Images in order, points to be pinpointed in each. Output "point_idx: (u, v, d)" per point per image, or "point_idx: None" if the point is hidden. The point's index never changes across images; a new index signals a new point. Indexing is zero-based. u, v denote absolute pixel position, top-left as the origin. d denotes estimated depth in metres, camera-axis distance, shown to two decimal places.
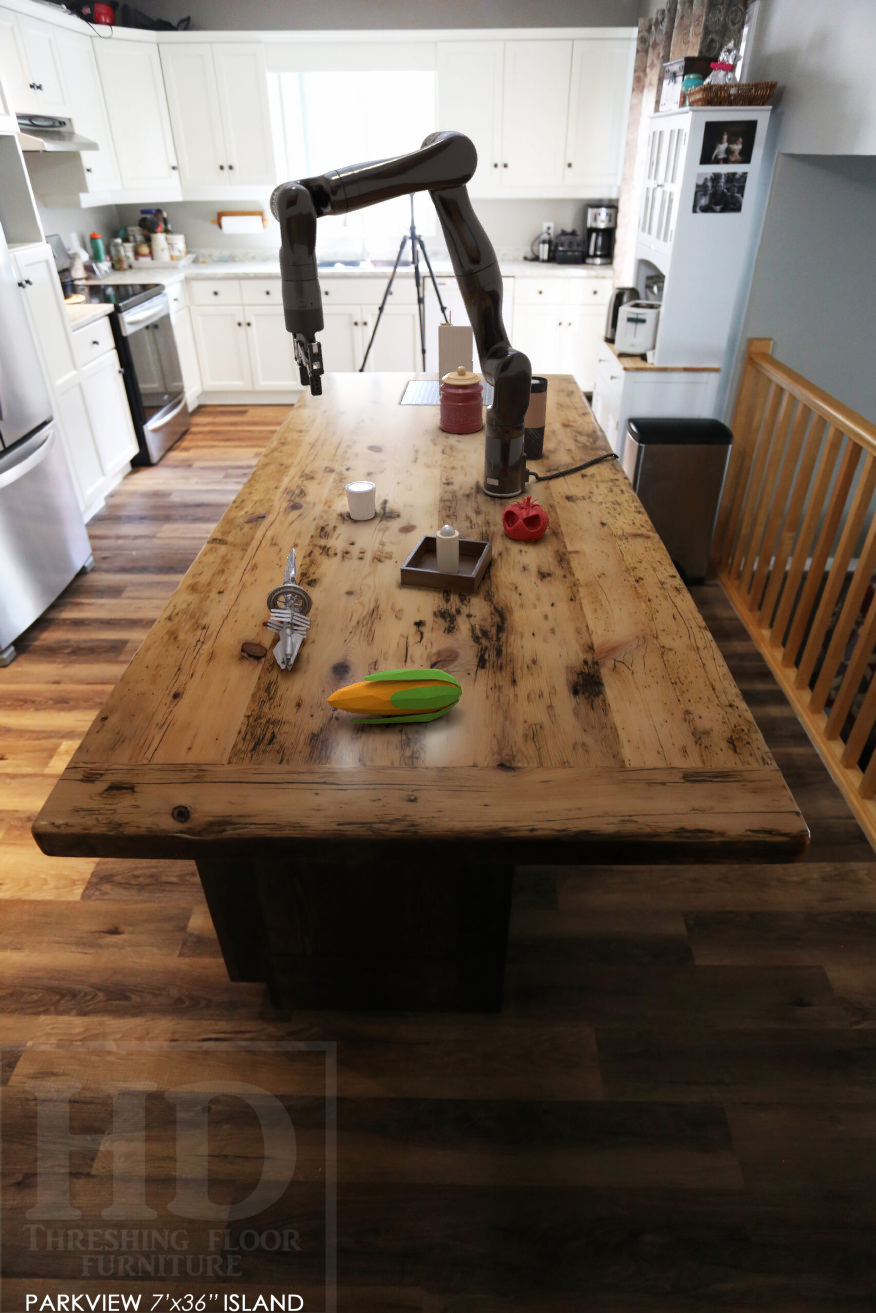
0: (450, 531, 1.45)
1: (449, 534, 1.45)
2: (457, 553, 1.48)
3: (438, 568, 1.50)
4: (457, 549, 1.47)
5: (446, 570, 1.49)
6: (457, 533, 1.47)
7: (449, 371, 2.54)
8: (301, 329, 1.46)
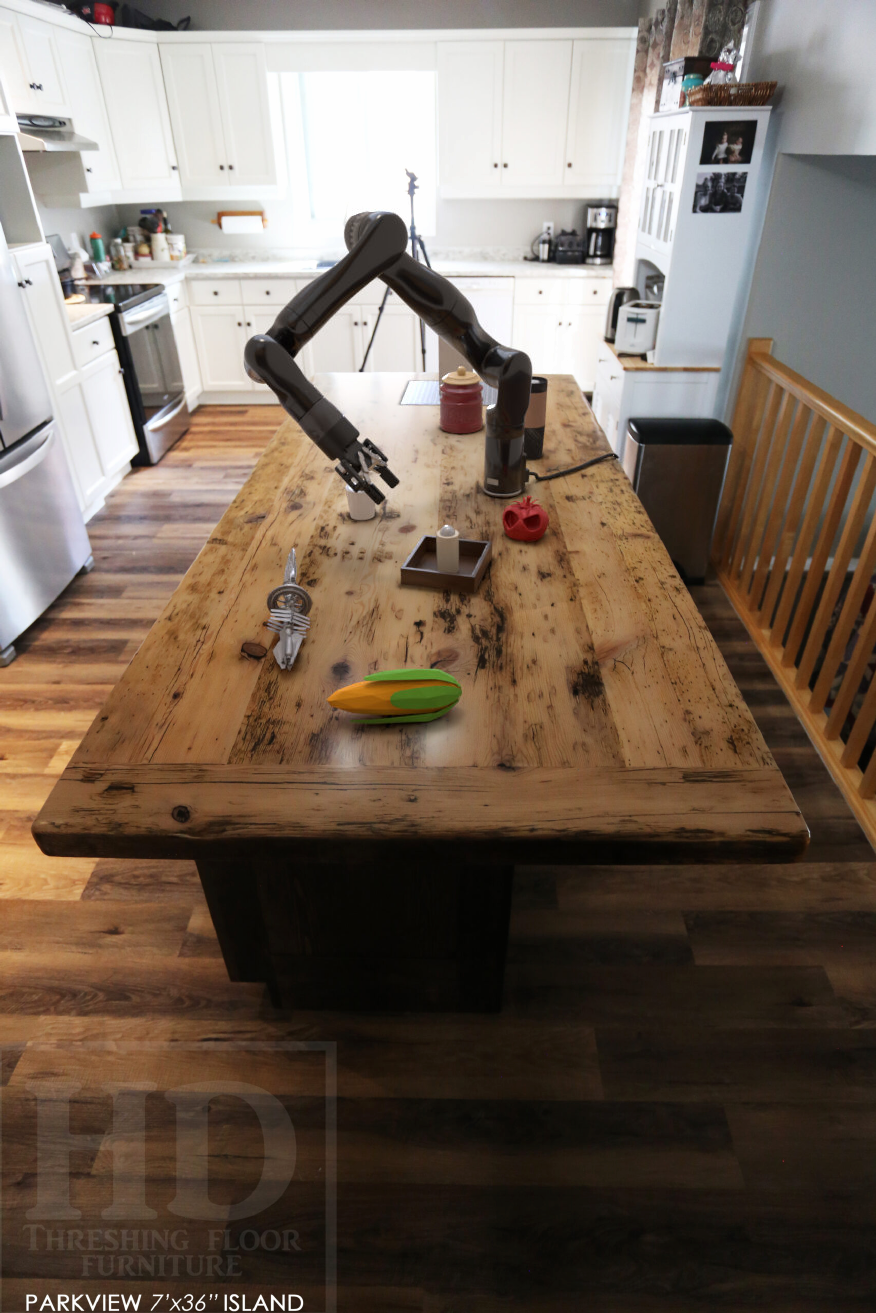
0: (450, 531, 1.45)
1: (449, 534, 1.45)
2: (457, 553, 1.48)
3: (438, 568, 1.50)
4: (457, 549, 1.47)
5: (446, 570, 1.49)
6: (457, 533, 1.47)
7: (449, 371, 2.54)
8: (331, 455, 1.40)
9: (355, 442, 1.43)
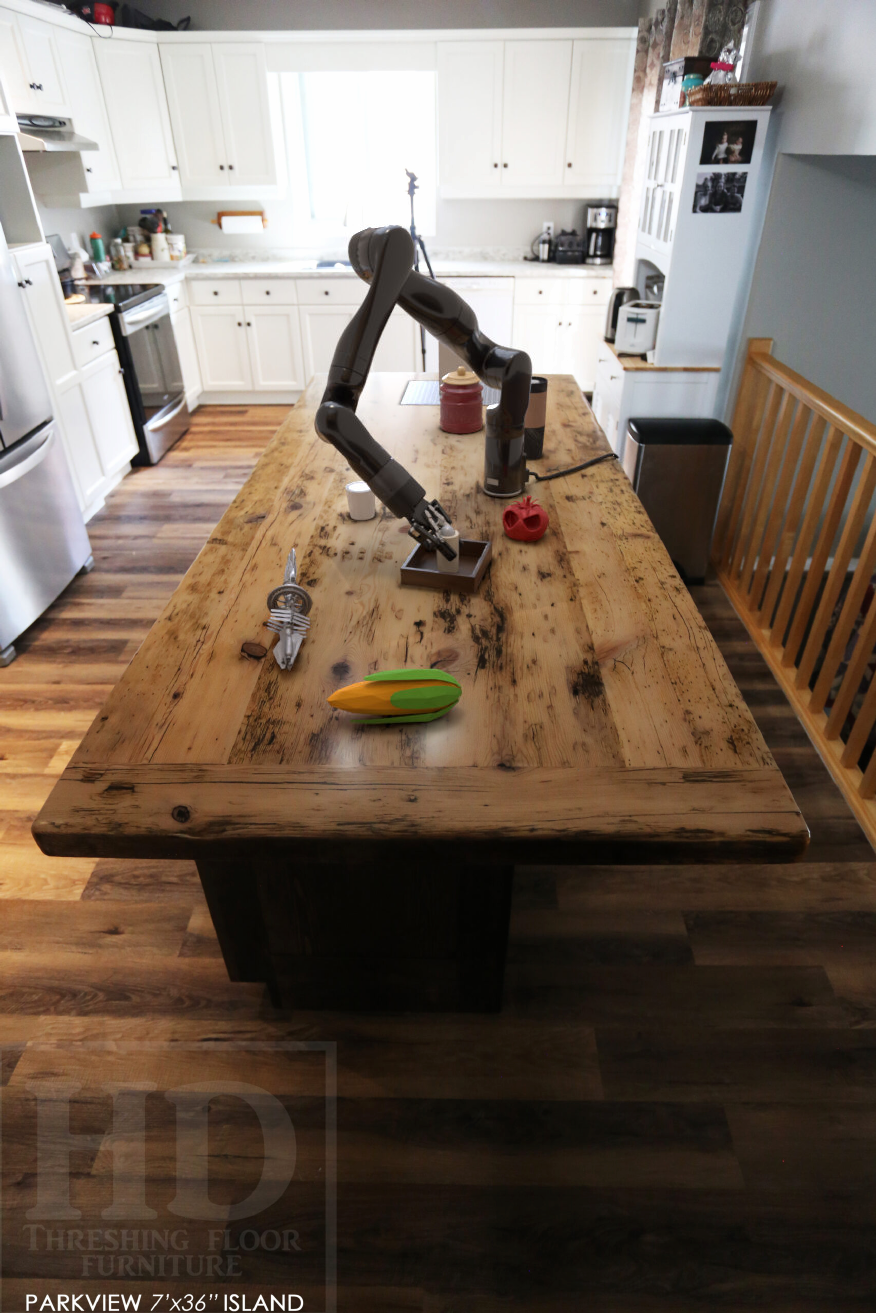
0: (450, 531, 1.45)
1: (449, 534, 1.45)
2: (457, 553, 1.48)
3: (438, 568, 1.50)
4: (457, 549, 1.47)
5: (446, 570, 1.49)
6: (457, 533, 1.47)
7: (449, 371, 2.54)
8: (399, 514, 1.44)
9: (421, 500, 1.46)
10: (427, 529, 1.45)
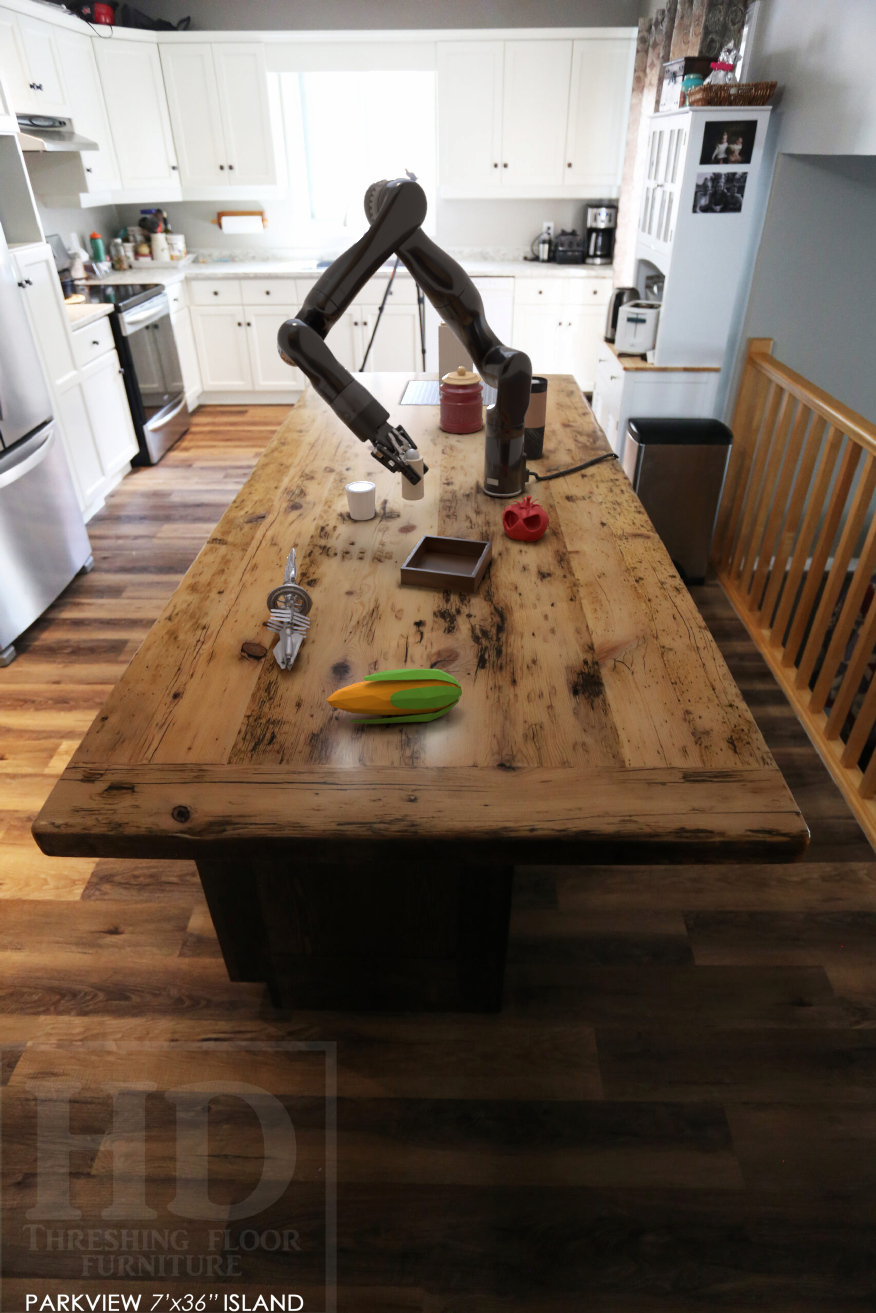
0: (414, 454, 1.45)
1: (413, 457, 1.45)
2: None
3: (403, 493, 1.50)
4: (421, 473, 1.47)
5: (411, 495, 1.49)
6: (421, 457, 1.46)
7: (449, 371, 2.54)
8: (362, 436, 1.43)
9: (385, 424, 1.46)
10: (391, 452, 1.45)
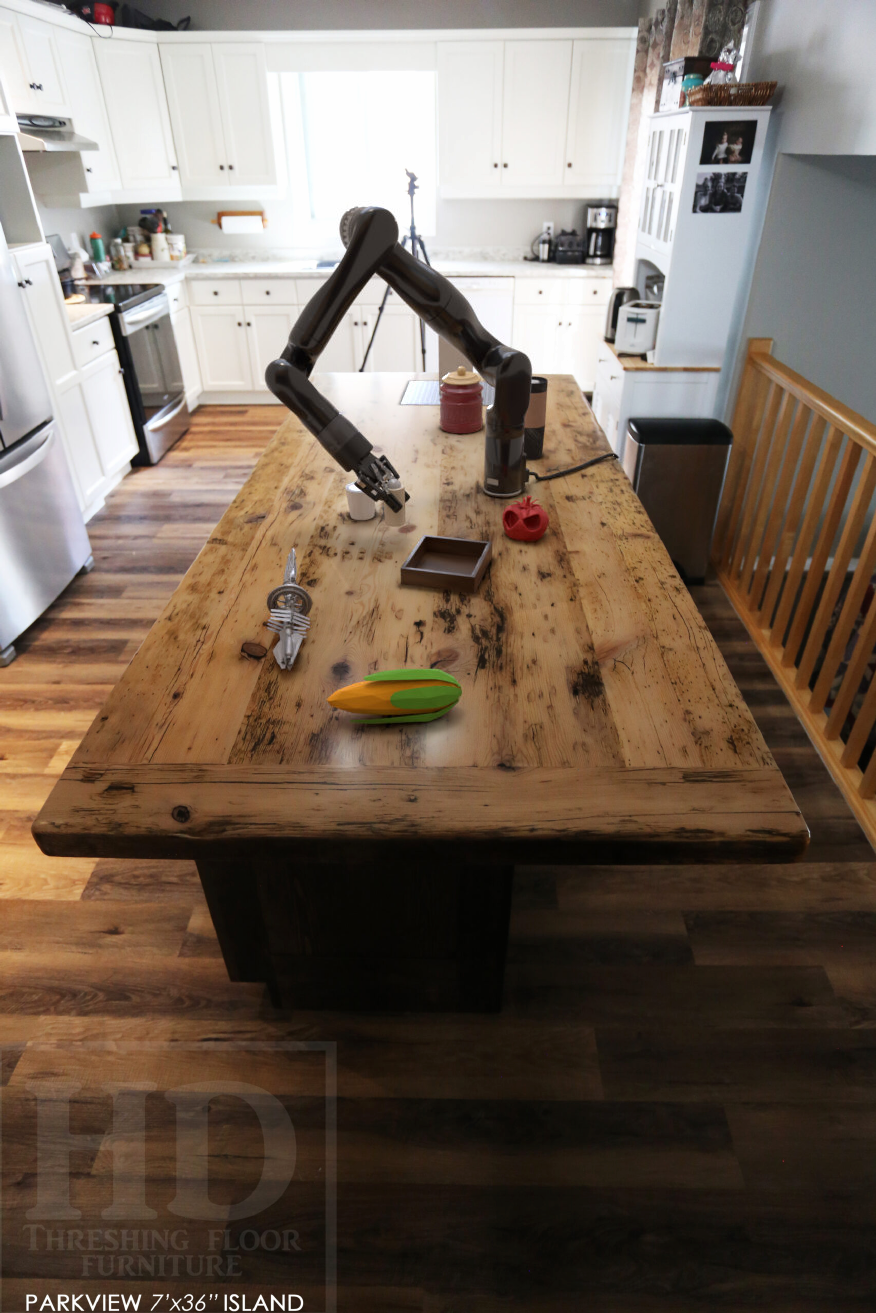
0: (396, 484, 1.53)
1: (395, 487, 1.54)
2: (403, 506, 1.56)
3: (386, 520, 1.58)
4: (403, 501, 1.56)
5: (393, 522, 1.57)
6: (403, 486, 1.55)
7: (449, 371, 2.54)
8: (347, 467, 1.52)
9: (369, 455, 1.55)
10: (374, 482, 1.53)
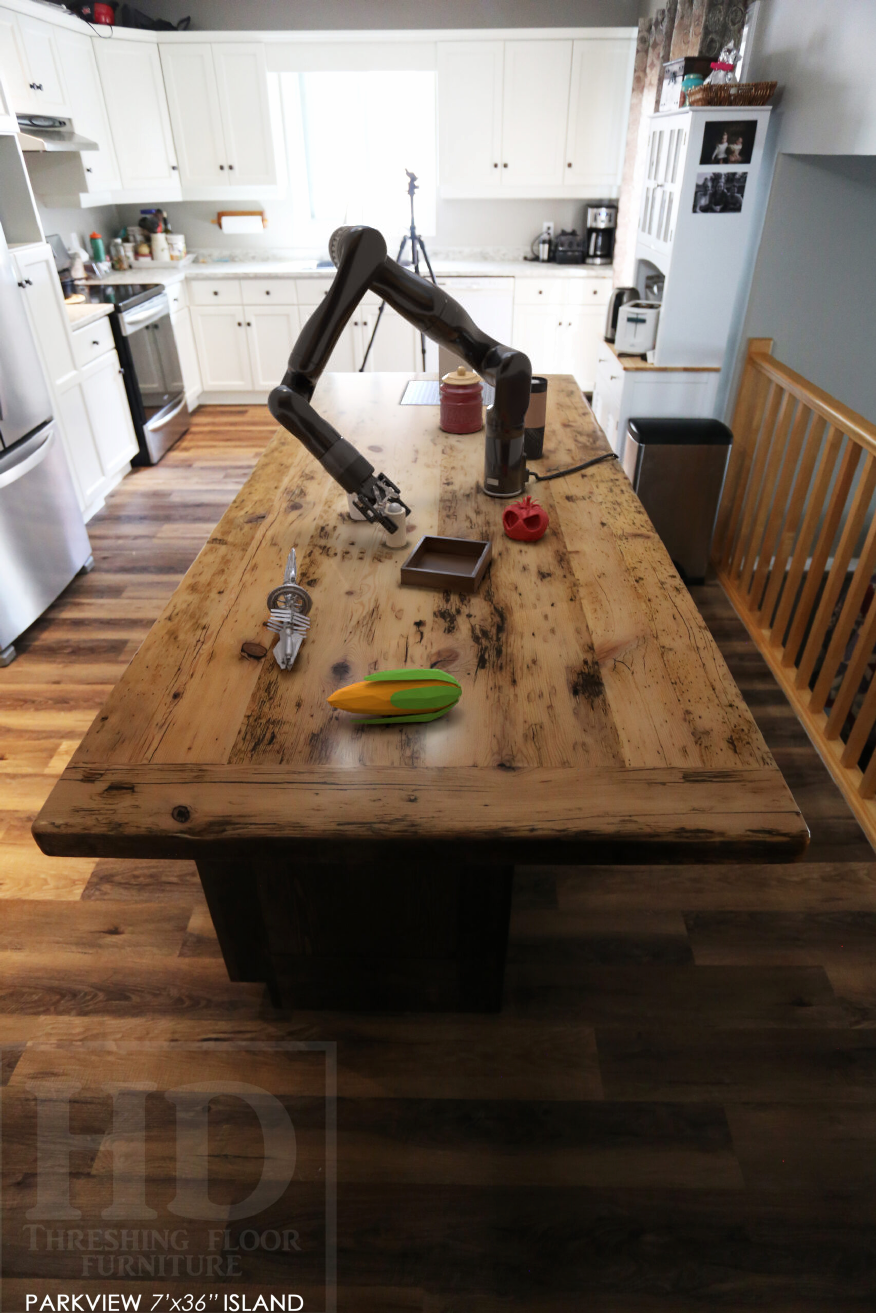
0: (396, 508, 1.56)
1: (396, 511, 1.56)
2: (404, 529, 1.59)
3: (387, 543, 1.61)
4: (404, 525, 1.59)
5: (394, 545, 1.60)
6: (403, 510, 1.58)
7: (449, 371, 2.54)
8: (349, 490, 1.54)
9: (370, 477, 1.57)
10: (376, 503, 1.56)
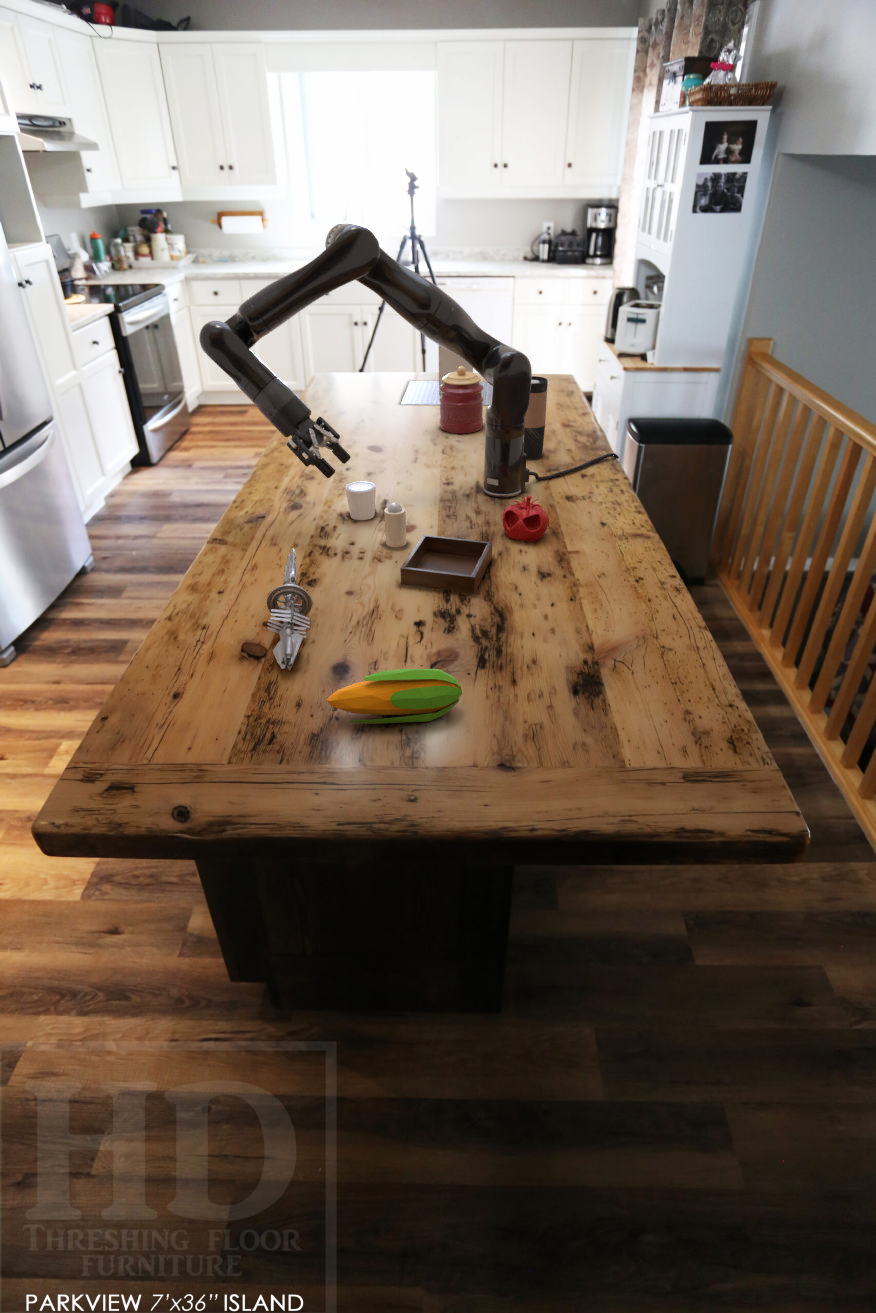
0: (396, 508, 1.56)
1: (396, 511, 1.56)
2: (404, 529, 1.59)
3: (387, 543, 1.61)
4: (404, 525, 1.59)
5: (394, 545, 1.60)
6: (403, 510, 1.58)
7: (449, 371, 2.54)
8: (284, 432, 1.51)
9: (307, 420, 1.54)
10: None
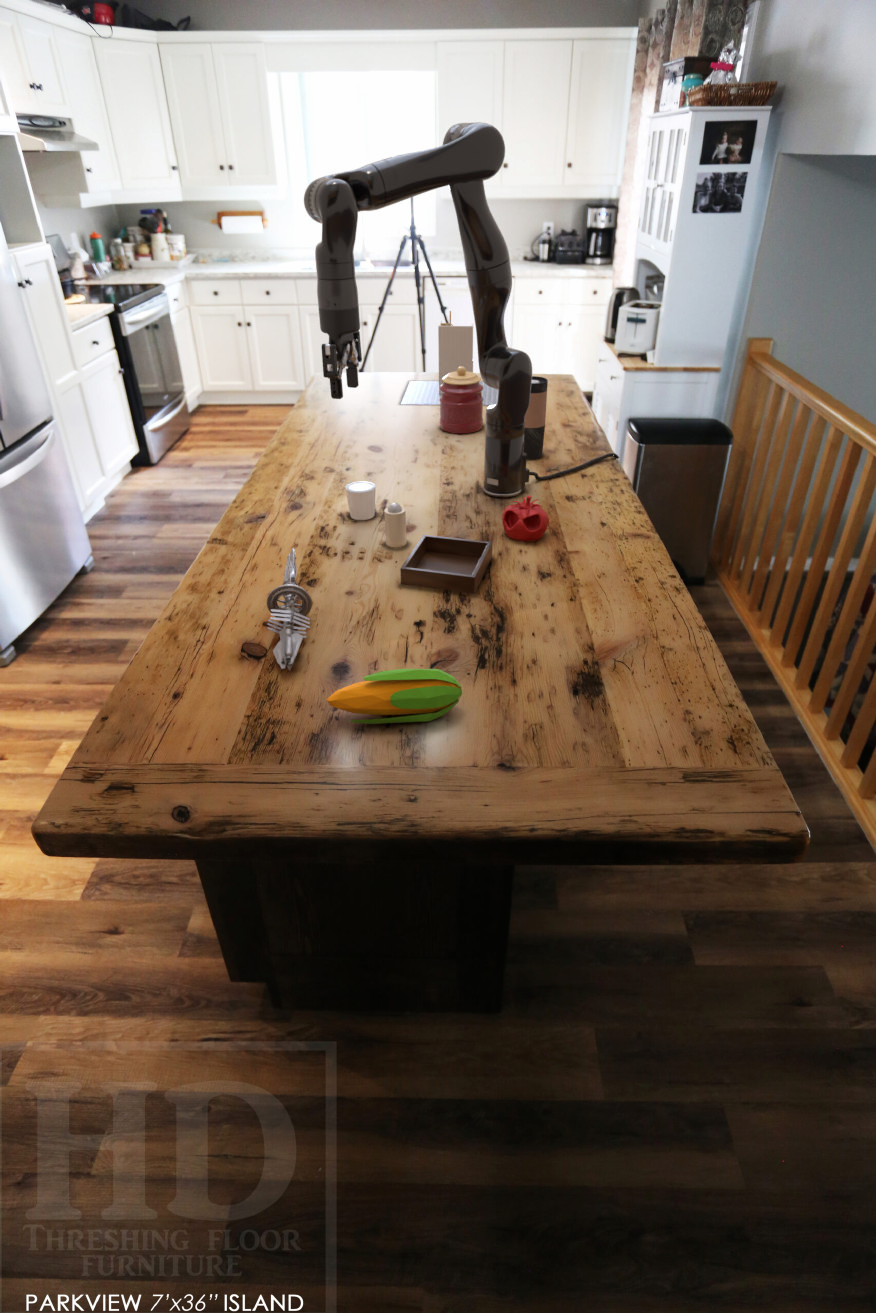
0: (396, 508, 1.56)
1: (396, 511, 1.56)
2: (404, 529, 1.59)
3: (387, 543, 1.61)
4: (404, 525, 1.59)
5: (394, 545, 1.60)
6: (403, 510, 1.58)
7: (449, 371, 2.54)
8: (325, 329, 1.42)
9: None
10: (338, 360, 1.46)
